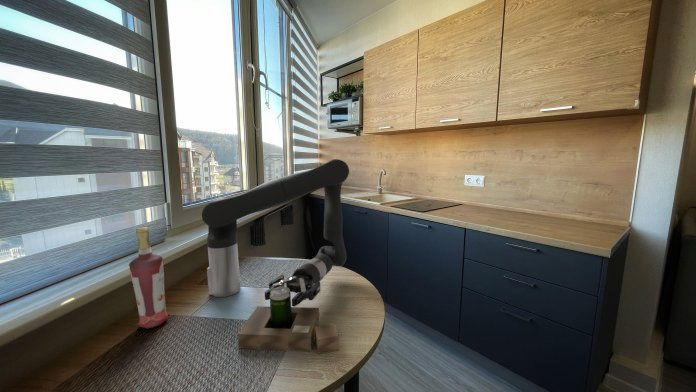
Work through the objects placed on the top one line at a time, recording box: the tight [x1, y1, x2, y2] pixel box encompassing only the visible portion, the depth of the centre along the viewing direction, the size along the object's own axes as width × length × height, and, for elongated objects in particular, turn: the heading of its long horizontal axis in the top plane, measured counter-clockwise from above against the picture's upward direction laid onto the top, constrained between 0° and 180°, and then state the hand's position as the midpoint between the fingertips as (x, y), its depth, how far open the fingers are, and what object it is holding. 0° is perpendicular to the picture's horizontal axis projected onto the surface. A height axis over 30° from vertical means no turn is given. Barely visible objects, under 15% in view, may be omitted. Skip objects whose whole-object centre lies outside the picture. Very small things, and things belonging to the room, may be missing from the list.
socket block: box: [237, 305, 320, 352], centre depth 69 cm, size 18×12×4 cm, turn 87°
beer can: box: [269, 286, 292, 329], centre depth 68 cm, size 5×5×12 cm
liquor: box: [128, 226, 169, 330], centre depth 72 cm, size 7×7×28 cm
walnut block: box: [314, 323, 339, 355], centre depth 64 cm, size 5×5×4 cm
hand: (279, 299), depth 67 cm, fingers open, 8 cm apart
